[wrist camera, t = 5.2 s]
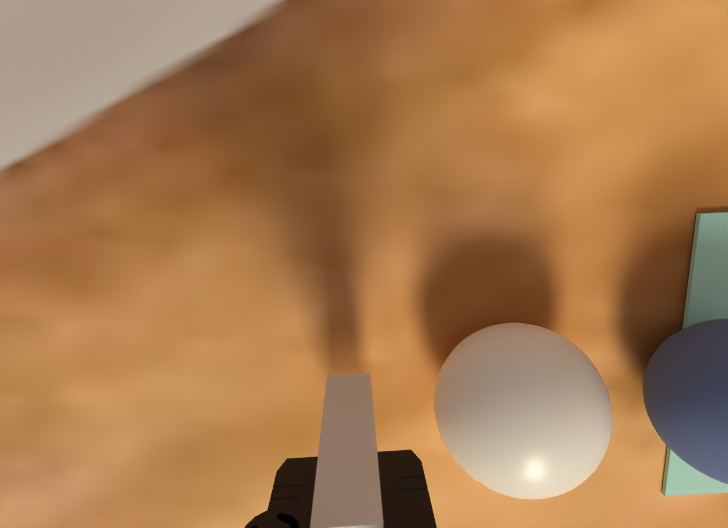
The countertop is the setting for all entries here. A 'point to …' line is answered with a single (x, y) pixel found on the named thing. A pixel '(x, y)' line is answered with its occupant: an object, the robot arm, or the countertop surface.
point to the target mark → (703, 302)
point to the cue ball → (523, 411)
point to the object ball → (692, 395)
